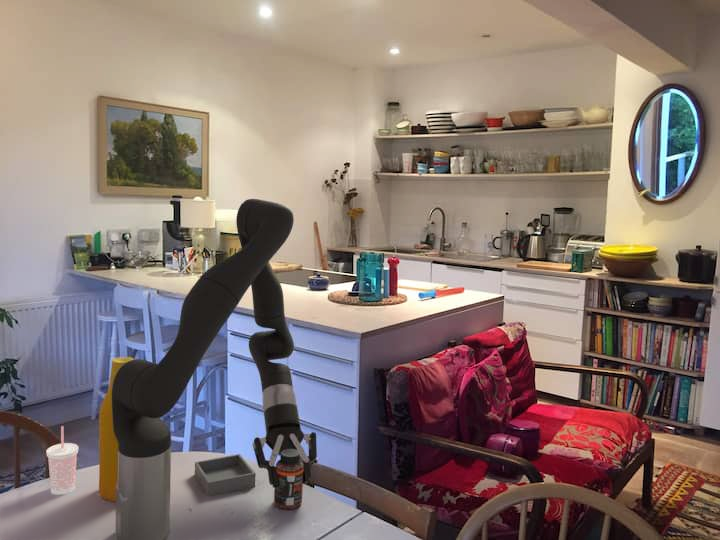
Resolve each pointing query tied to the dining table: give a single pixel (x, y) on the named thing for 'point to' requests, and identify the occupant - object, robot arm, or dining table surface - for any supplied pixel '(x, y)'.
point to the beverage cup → (62, 466)
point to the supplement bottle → (289, 480)
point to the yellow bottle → (109, 440)
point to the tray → (224, 474)
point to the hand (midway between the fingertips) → (291, 484)
